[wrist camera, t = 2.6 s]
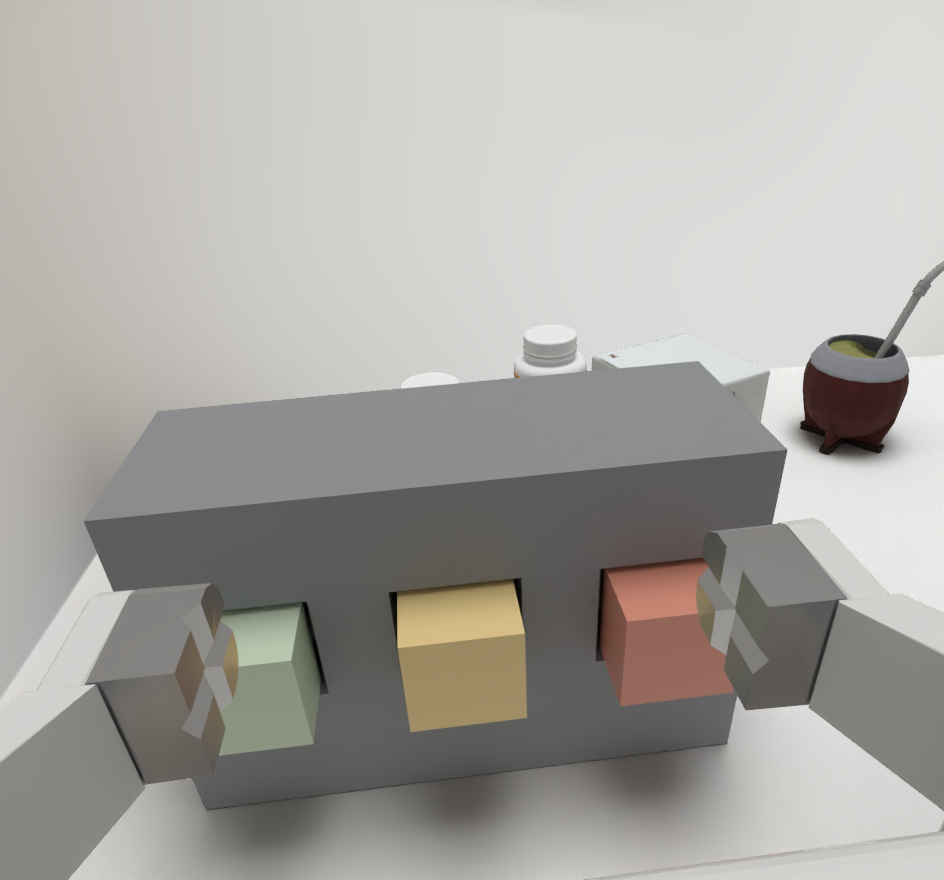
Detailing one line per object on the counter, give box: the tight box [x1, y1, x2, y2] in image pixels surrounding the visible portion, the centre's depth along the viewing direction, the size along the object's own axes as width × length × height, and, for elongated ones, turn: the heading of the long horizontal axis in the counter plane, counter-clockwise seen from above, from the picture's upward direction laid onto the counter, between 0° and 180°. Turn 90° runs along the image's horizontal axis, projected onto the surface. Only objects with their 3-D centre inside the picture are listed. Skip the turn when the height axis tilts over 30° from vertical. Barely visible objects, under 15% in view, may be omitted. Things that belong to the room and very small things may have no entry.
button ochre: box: [397, 579, 527, 732], centre depth 26 cm, size 3×4×4 cm
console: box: [84, 361, 787, 810], centre depth 30 cm, size 8×24×16 cm, turn 96°
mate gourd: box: [800, 261, 944, 455], centre depth 51 cm, size 8×8×15 cm
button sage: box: [219, 602, 321, 756], centre depth 25 cm, size 3×4×4 cm
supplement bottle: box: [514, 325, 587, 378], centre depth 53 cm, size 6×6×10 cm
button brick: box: [600, 558, 734, 706], centre depth 26 cm, size 3×4×4 cm
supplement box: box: [592, 334, 770, 422], centre depth 42 cm, size 7×7×13 cm
